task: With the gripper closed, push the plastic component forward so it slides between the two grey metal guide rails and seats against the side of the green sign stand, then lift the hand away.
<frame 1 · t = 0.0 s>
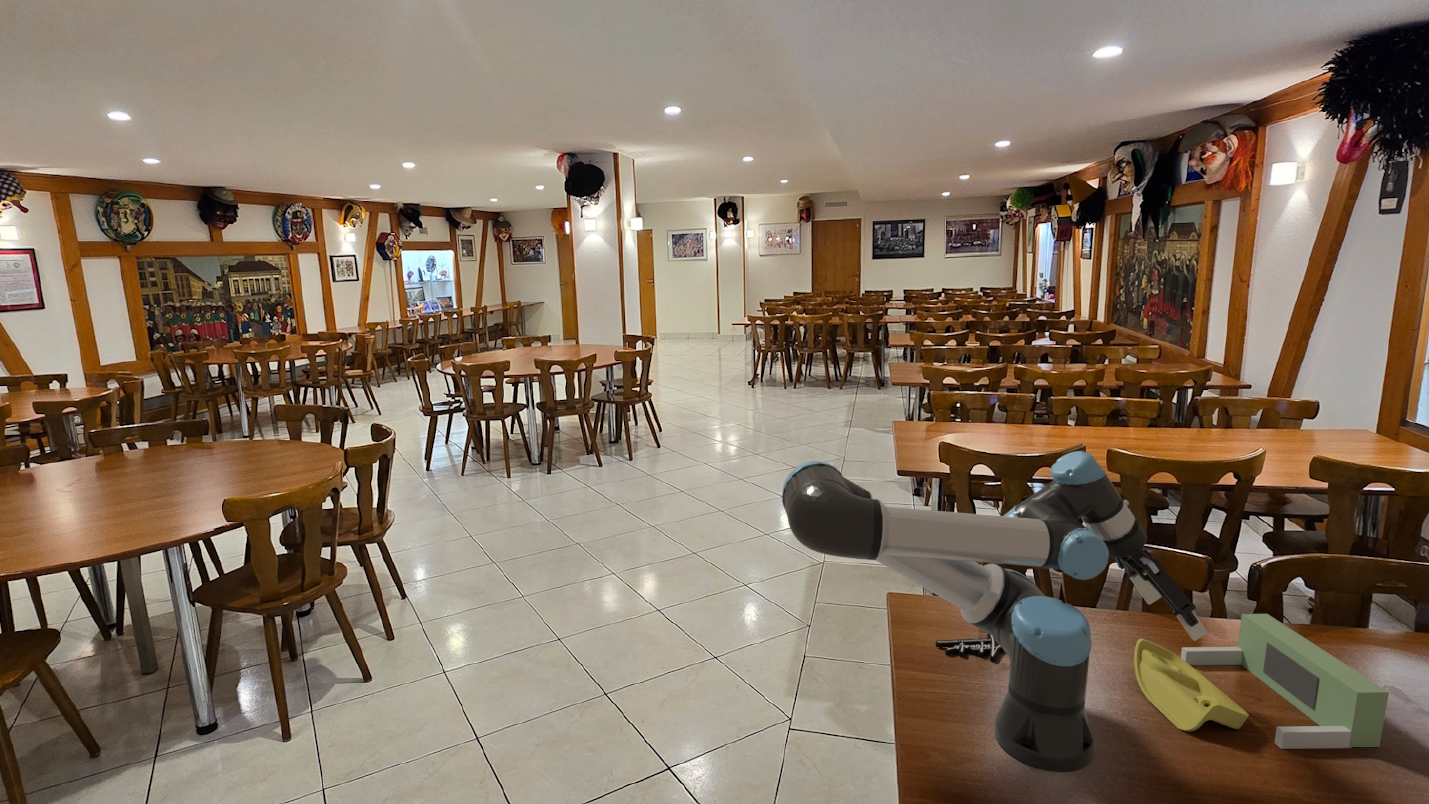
hand: (1176, 617, 134), 15 cm above the table, tool tilted 35°, fingers open, 13 cm apart
green sign stand: (1270, 700, 135), on the table
nameplate: (1004, 651, 154), on the table
plastic component: (1182, 703, 135), on the table
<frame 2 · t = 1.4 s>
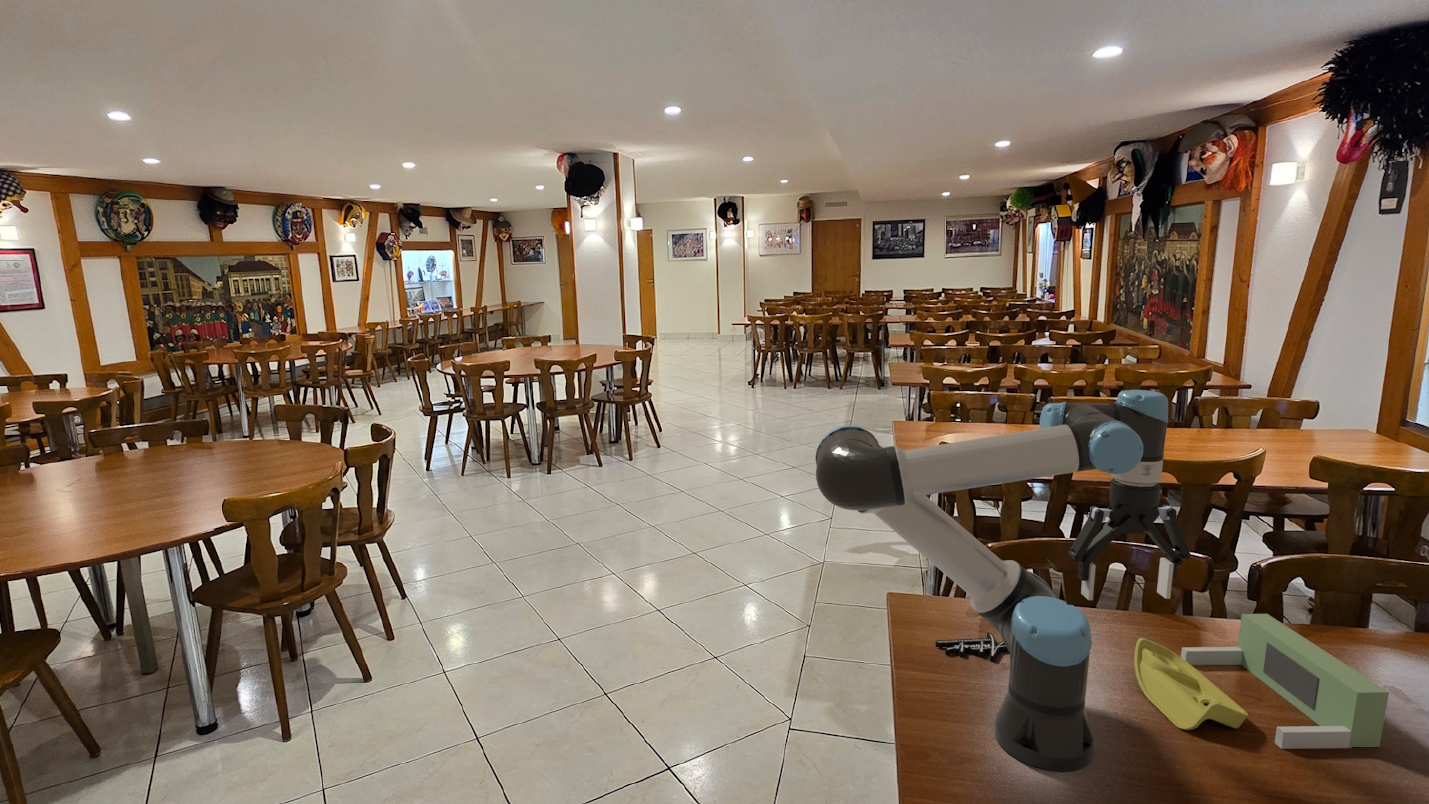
hand: (1125, 596, 131), 21 cm above the table, tool pointing down, fingers open, 13 cm apart
nothing on the table moved.
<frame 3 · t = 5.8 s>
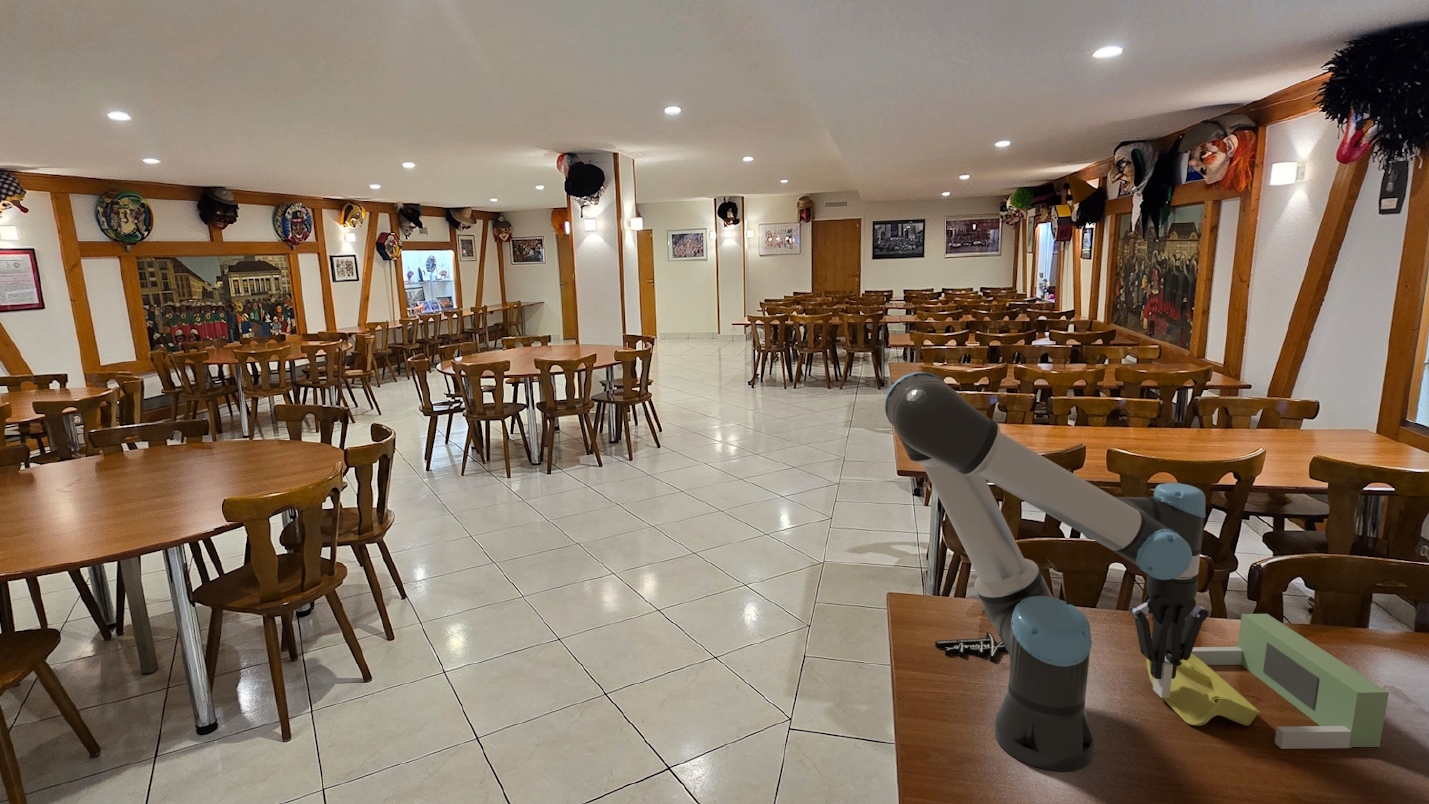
hand: (1161, 693, 135), 2 cm above the table, tool pointing down, fingers closed
plastic component: (1193, 699, 136), on the table, touching gripper
everything else where it was.
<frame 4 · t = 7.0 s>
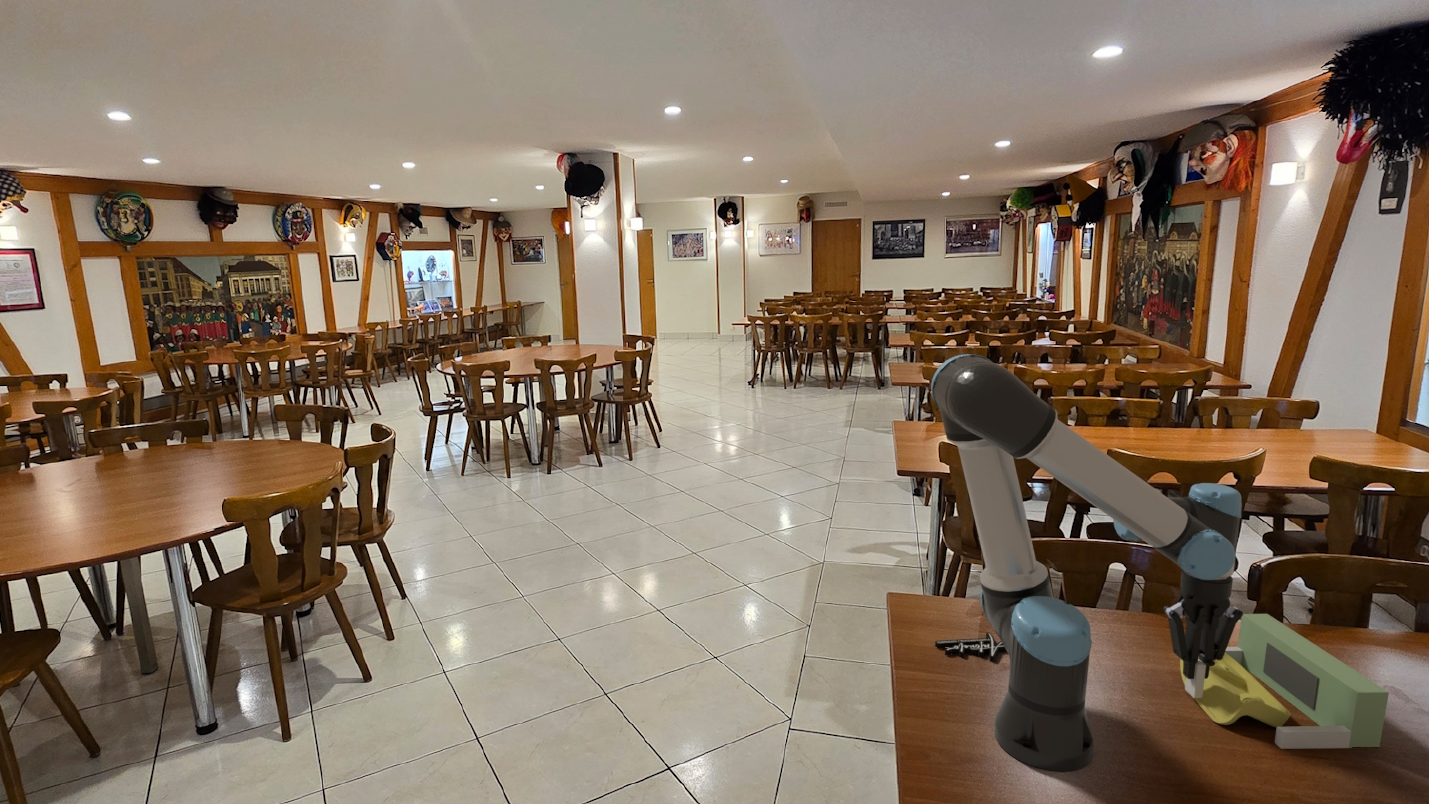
hand: (1193, 693, 135), 2 cm above the table, tool pointing down, fingers closed
plastic component: (1226, 700, 136), on the table, touching gripper
everything else where it was.
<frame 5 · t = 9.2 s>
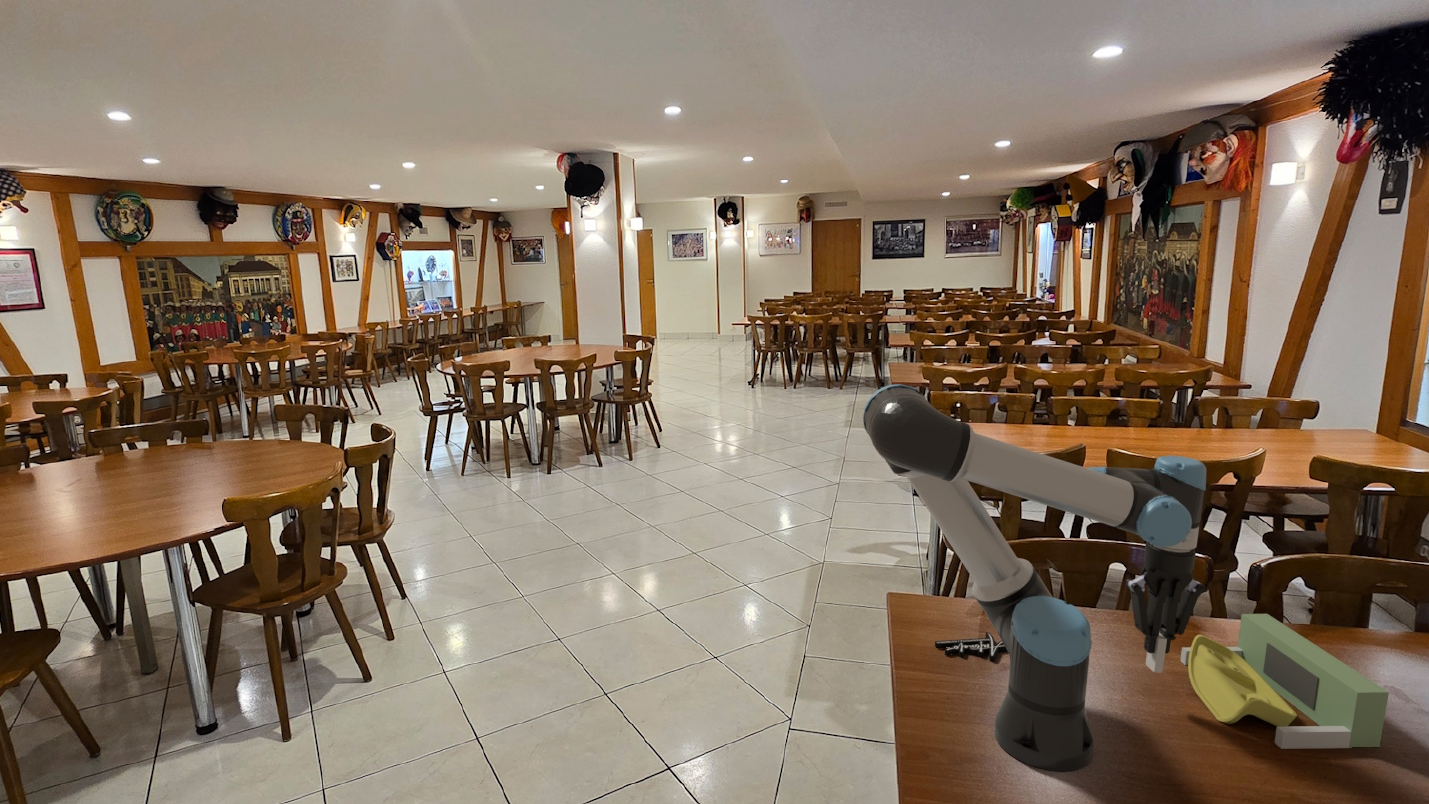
hand: (1153, 668, 134), 7 cm above the table, tool pointing down, fingers closed
plastic component: (1234, 700, 136), on the table
everything else where it was.
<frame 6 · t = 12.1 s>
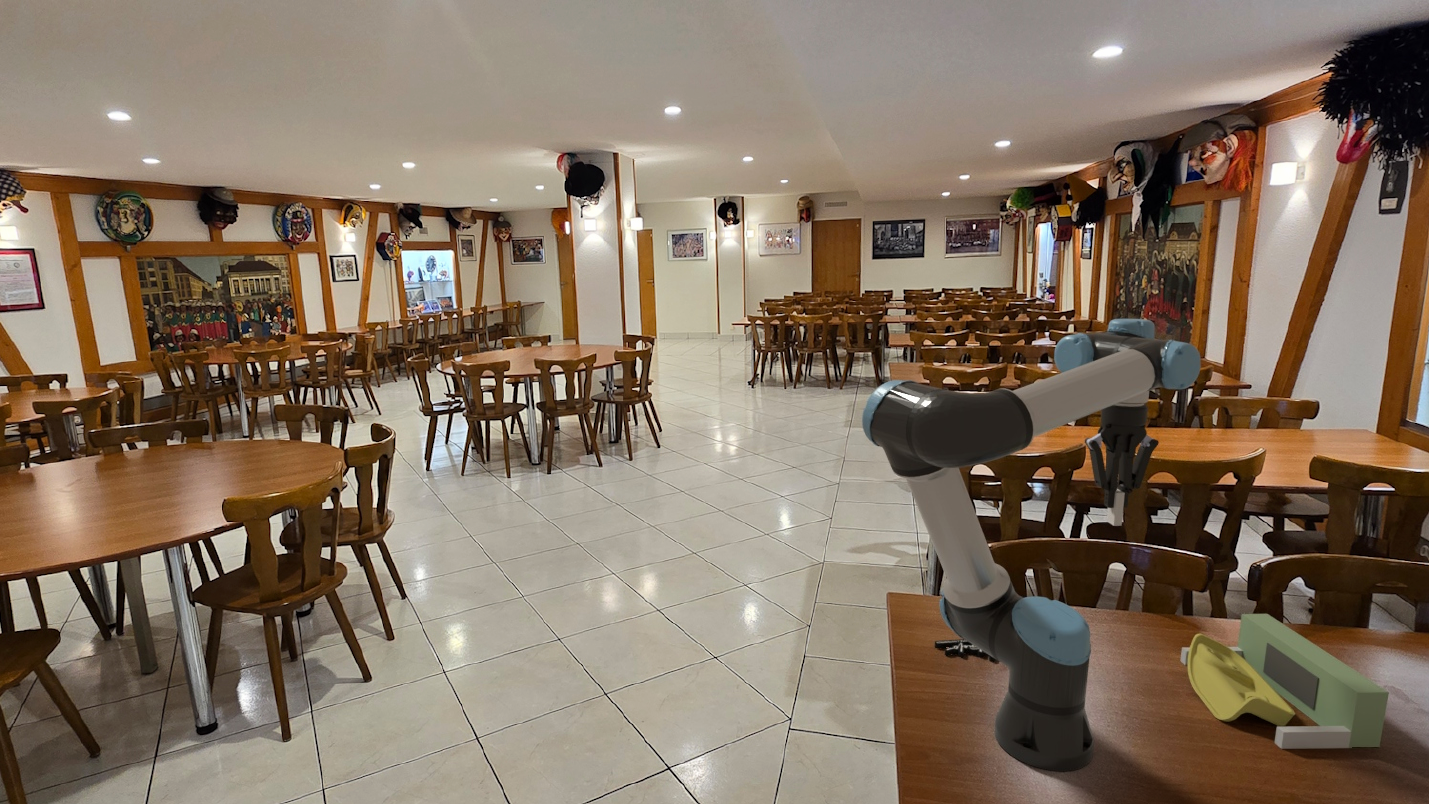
hand: (1114, 523, 142), 29 cm above the table, tool pointing down, fingers closed
nothing on the table moved.
at the end: plastic component 2.1 cm from the target spot on the green sign stand, point -0.5 cm above the green sign stand's base; plastic component moved 10.4 cm from its start; plastic component tilted 0° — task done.
